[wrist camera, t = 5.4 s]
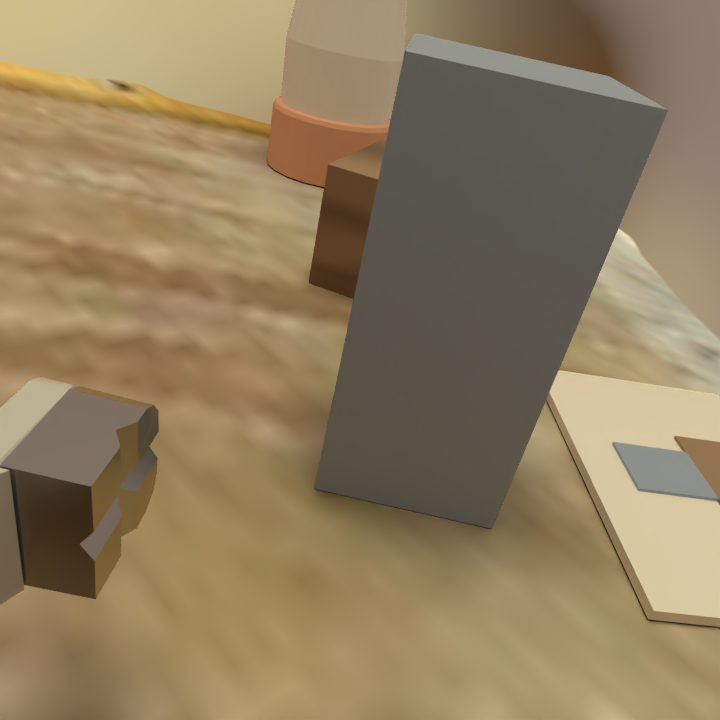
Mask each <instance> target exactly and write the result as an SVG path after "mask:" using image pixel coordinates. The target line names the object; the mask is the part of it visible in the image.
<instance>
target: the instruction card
mask: <svg viewBox="0 0 720 720" xmlns="http://www.w3.org/2000/svg"><path fill="white" fill-rule="evenodd" d="M546 400H547V402H548V404H549V406H550V408H551V411H552V413H553V415H554V417H555V419H556V421H557V424H558V426H559V428H560V430H561V432H562V434H563V436H564V439H565V441H566V443H567V445H568V447H569V449H570V452H571V454H572V456H573V458H574V460H575V462H576V465H577V467H578V469H579V471H580V473H581V475H582V478H583V480H584V482H585V484H586V486H587V488H588V491H589V493H590V495H591V497H592V499H593V501H594V504H595V506H596V508H597V510H598V512H599V514H600V516H601V519H602V521H603V523H604V525H605V527H606V529H607V532H608V534H609V536H610V538H611V540H612V542H613V545H614V547H615V549H616V551H617V553H618V555H619V558H620V560H621V562H622V564H623V566H624V568H625V571H626V573H627V575H628V577H629V579H630V581H631V584H632V586H633V588H634V590H635V592H636V594H637V596H638V599H639V601H640V603H641V605H642V607H643V609H644V612H645V614H646V616H647V618H648V619H650V620H659V621H669V622H678V623H687V624H697V625H706V626H715V627H720V396H719V395H717V394H711V393H704V392H698V391H691V390H685V389H678V388H672V387H665V386H659V385H652V384H646V383H639V382H633V381H626V380H620V379H613V378H607V377H600V376H593V375H587V374H580V373H574V372H567V371H561V370H558V373H557V375H556V377H555V380H554V382H553V385H552V387H551V389H550V392H549V394H548V396H547V399H546Z"/></svg>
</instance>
